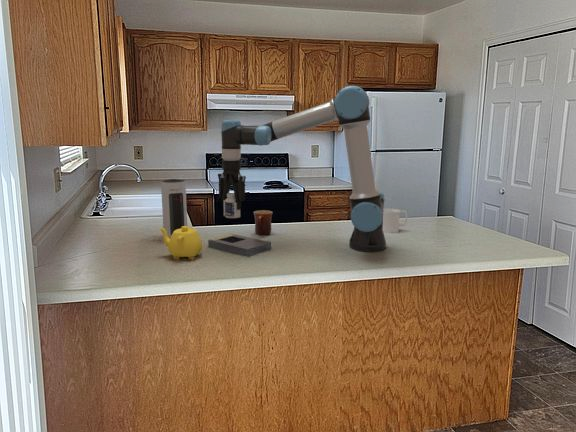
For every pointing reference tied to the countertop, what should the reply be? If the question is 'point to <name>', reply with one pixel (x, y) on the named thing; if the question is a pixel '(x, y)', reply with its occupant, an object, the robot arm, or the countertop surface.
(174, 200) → the speaker
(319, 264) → the countertop surface
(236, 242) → the grey flat block
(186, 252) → the teapot
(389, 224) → the cup
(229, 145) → the robot arm
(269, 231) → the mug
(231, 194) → the pill bottle
